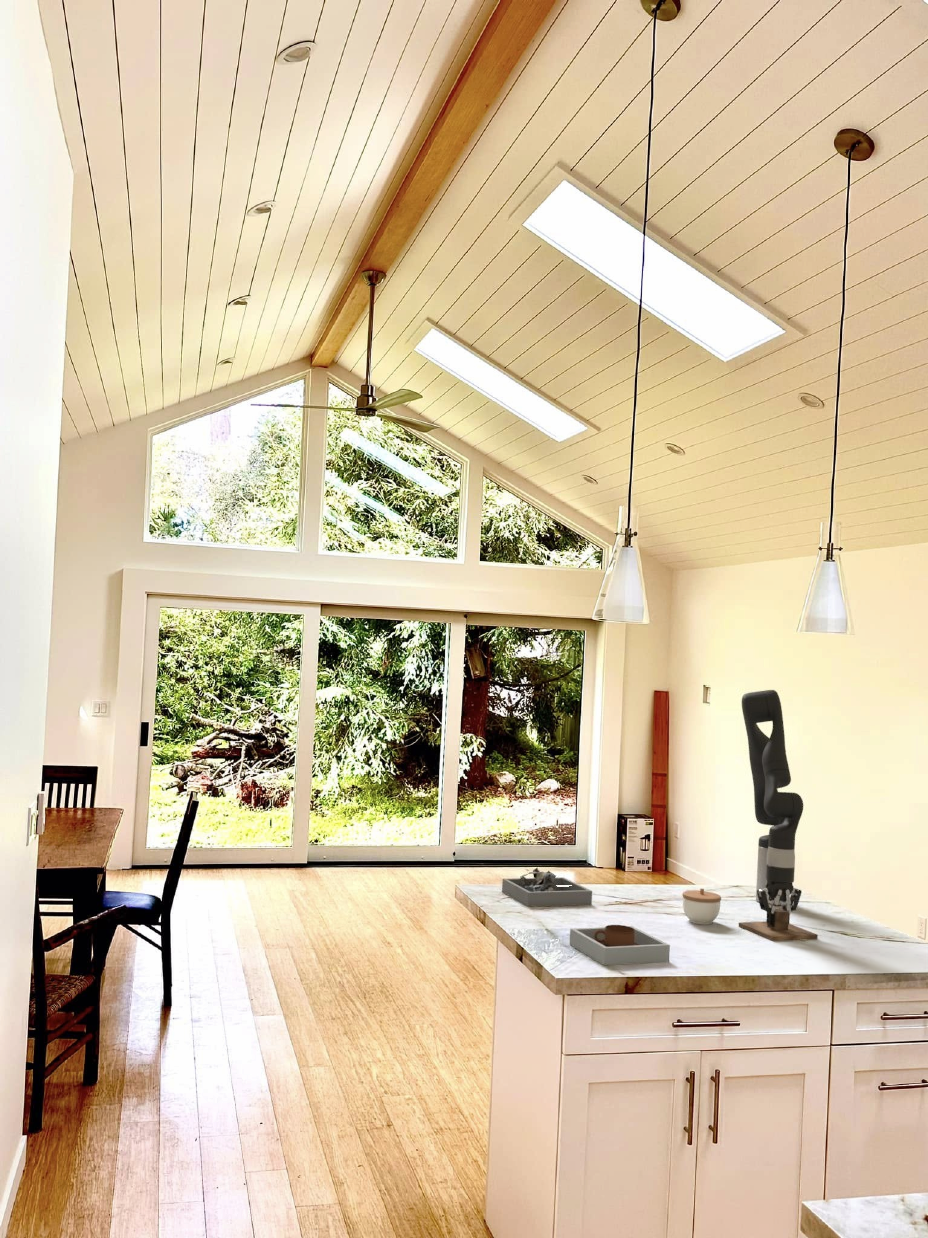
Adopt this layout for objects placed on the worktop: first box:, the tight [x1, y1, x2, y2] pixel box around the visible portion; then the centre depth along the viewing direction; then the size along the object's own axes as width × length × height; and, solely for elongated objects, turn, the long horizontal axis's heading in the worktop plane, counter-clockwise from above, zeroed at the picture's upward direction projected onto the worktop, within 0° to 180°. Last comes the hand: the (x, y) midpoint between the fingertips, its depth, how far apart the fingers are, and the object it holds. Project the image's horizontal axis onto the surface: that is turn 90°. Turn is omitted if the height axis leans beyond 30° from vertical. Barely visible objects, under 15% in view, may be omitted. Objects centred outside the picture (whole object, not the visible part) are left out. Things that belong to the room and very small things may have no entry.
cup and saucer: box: [594, 924, 640, 947], centre depth 259 cm, size 12×12×6 cm
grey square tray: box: [569, 925, 671, 966], centre depth 259 cm, size 18×18×4 cm
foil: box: [519, 867, 557, 892], centre depth 317 cm, size 12×11×15 cm
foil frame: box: [501, 876, 593, 907], centre depth 316 cm, size 21×19×4 cm
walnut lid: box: [738, 907, 819, 942], centre depth 290 cm, size 15×15×6 cm
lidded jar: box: [682, 887, 722, 925], centre depth 297 cm, size 11×11×9 cm
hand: (777, 926), depth 290 cm, fingers closed on walnut lid, 4 cm apart
